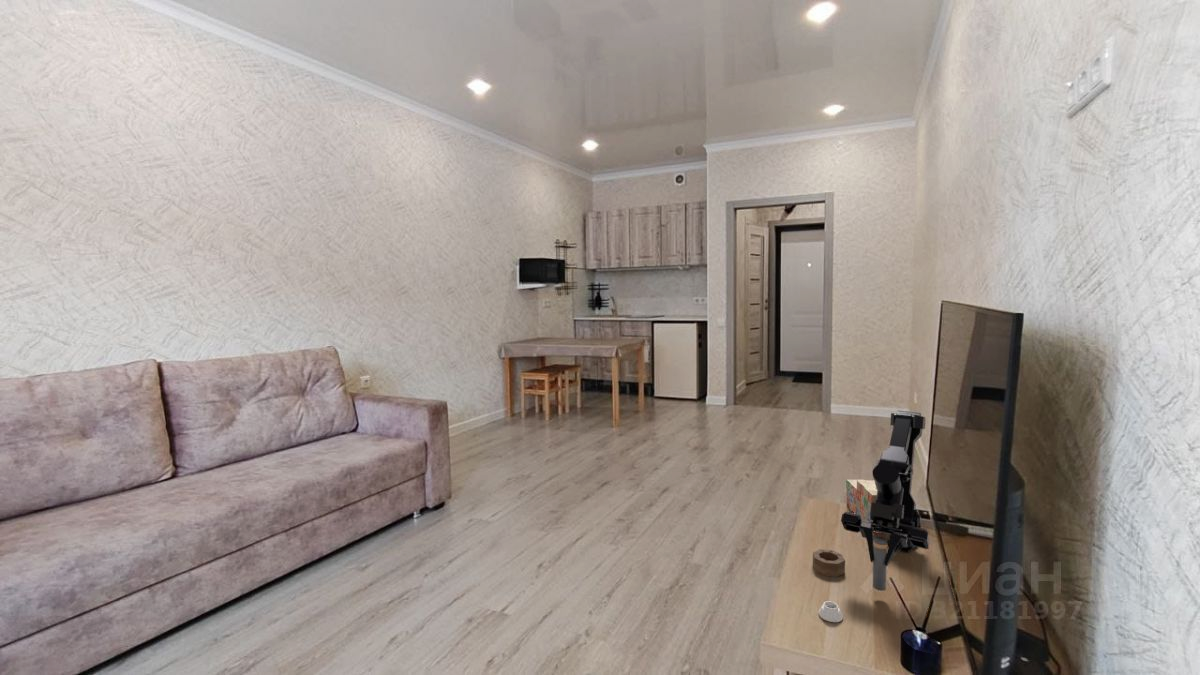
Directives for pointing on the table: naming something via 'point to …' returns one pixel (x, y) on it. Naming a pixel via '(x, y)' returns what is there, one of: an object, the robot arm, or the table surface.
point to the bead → (828, 562)
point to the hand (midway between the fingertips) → (878, 563)
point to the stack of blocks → (861, 497)
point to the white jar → (830, 612)
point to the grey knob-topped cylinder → (879, 563)
